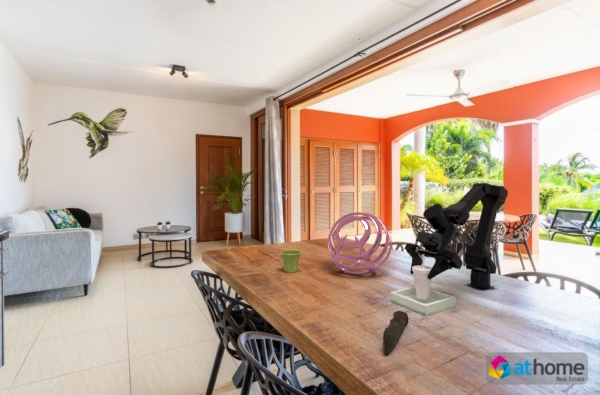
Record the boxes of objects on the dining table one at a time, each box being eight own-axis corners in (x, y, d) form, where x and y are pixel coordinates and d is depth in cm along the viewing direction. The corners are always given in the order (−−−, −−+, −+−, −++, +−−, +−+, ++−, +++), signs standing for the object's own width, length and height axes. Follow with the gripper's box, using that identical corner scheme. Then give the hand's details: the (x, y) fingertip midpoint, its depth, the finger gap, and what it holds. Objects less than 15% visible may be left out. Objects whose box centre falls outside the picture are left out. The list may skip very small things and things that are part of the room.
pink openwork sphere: (352, 222, 163) (337, 194, 142) (405, 239, 147) (397, 211, 126) (327, 270, 154) (307, 247, 133) (381, 294, 138) (368, 272, 117)
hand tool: (394, 322, 89) (393, 306, 88) (408, 325, 86) (408, 309, 86) (373, 354, 72) (372, 334, 72) (390, 359, 70) (390, 338, 70)
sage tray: (418, 293, 111) (418, 285, 111) (455, 306, 99) (455, 297, 99) (390, 301, 104) (390, 292, 104) (425, 316, 92) (425, 306, 92)
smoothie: (437, 297, 101) (437, 254, 101) (426, 302, 97) (426, 257, 97) (418, 292, 106) (418, 251, 106) (408, 297, 102) (407, 254, 102)
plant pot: (301, 273, 138) (301, 254, 138) (280, 274, 138) (279, 254, 138) (301, 268, 147) (301, 250, 147) (281, 268, 148) (281, 250, 147)
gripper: (407, 220, 111) (385, 255, 106) (457, 225, 95) (433, 267, 90) (422, 240, 115) (401, 274, 110) (472, 248, 99) (450, 289, 94)
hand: (419, 276), depth 101 cm, fingers closed on smoothie, 6 cm apart
